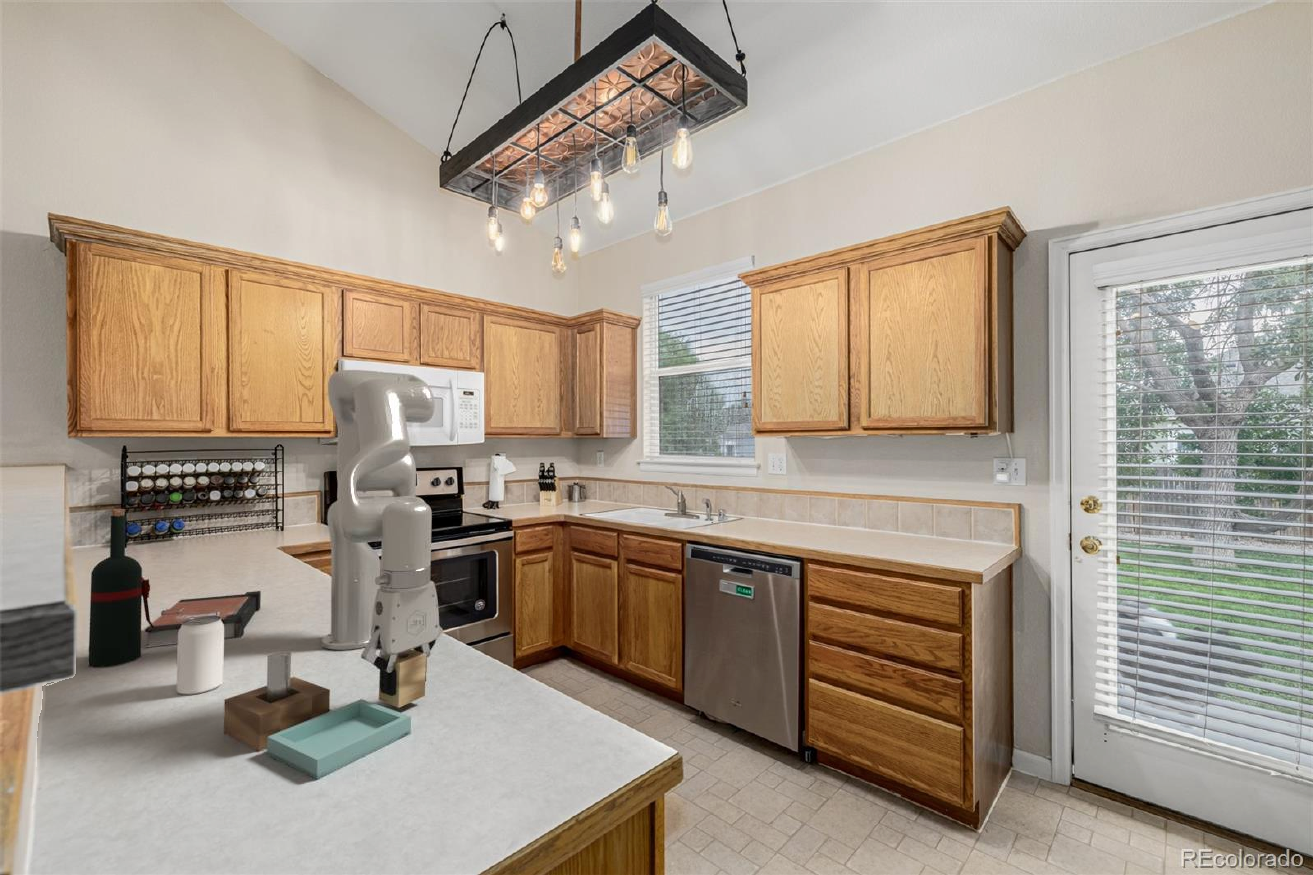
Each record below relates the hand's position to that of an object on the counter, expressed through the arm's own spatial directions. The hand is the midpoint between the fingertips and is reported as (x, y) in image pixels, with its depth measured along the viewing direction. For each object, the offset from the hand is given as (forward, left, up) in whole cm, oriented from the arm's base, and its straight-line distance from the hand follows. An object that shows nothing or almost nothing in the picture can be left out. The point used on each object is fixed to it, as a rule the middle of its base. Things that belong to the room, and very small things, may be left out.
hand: (403, 685), depth 96 cm
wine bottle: (+14, -67, -4) cm, 69 cm away
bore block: (+14, -10, -3) cm, 18 cm away
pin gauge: (+14, -10, -2) cm, 18 cm away
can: (+13, -37, -4) cm, 40 cm away
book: (-4, -77, -4) cm, 77 cm away
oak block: (0, 0, -2) cm, 2 cm away
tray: (+12, +3, -3) cm, 13 cm away
